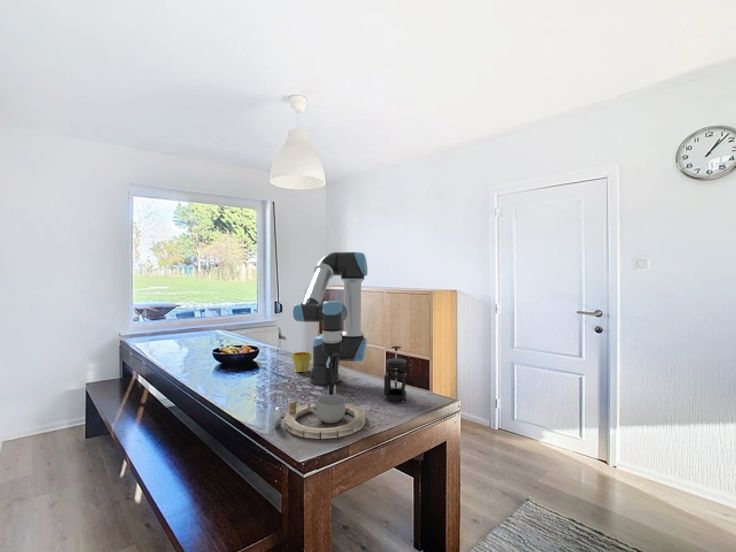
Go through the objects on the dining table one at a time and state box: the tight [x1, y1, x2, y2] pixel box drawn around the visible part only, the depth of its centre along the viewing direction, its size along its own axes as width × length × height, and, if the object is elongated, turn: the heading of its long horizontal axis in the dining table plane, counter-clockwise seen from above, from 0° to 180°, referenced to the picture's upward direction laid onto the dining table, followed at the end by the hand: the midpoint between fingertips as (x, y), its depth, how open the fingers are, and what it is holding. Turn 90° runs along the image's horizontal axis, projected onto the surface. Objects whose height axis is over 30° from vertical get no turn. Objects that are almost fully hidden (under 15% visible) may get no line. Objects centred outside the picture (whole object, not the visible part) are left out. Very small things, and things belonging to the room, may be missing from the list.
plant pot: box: [291, 351, 312, 373], centre depth 207 cm, size 10×10×10 cm
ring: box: [284, 400, 367, 440], centre depth 137 cm, size 29×29×6 cm
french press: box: [383, 345, 408, 403], centre depth 161 cm, size 12×9×23 cm
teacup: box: [307, 393, 347, 424], centre depth 139 cm, size 14×11×8 cm
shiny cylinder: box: [273, 406, 285, 430], centre depth 132 cm, size 2×3×7 cm
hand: (332, 402), depth 145 cm, fingers closed
